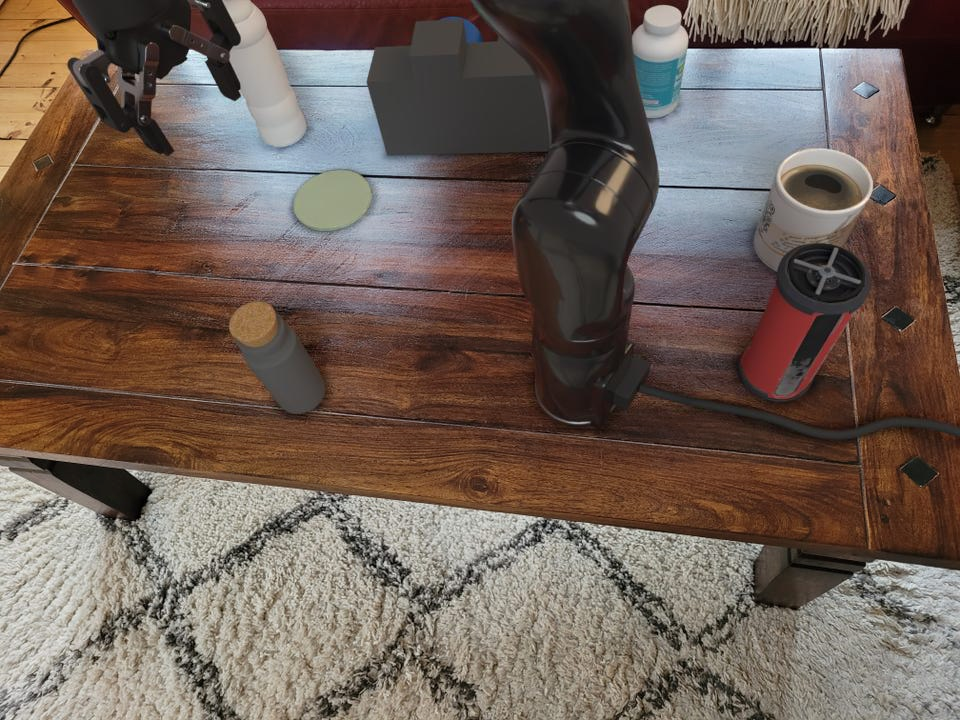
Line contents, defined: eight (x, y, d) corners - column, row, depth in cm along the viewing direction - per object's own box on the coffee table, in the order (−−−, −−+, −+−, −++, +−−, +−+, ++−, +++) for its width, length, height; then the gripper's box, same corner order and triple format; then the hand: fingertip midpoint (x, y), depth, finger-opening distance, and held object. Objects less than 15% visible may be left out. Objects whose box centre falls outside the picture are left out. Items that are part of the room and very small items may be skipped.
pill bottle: (681, 119, 97) (697, 30, 85) (627, 122, 97) (636, 35, 86) (674, 84, 101) (688, -5, 89) (622, 88, 101) (630, 1, 90)
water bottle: (317, 125, 104) (254, -41, 83) (287, 155, 101) (214, -9, 80) (283, 112, 107) (213, -53, 85) (253, 141, 104) (173, -22, 83)
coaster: (387, 189, 96) (386, 186, 95) (336, 242, 91) (335, 239, 91) (329, 163, 100) (328, 160, 99) (278, 212, 95) (277, 209, 95)
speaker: (750, 332, 78) (796, 225, 62) (820, 359, 75) (886, 253, 60) (726, 386, 75) (768, 286, 59) (798, 415, 72) (861, 319, 57)
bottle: (317, 417, 78) (268, 348, 65) (270, 411, 79) (213, 341, 66) (332, 373, 81) (289, 299, 68) (287, 367, 82) (236, 293, 69)
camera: (563, 76, 104) (562, -27, 91) (561, 151, 96) (560, 49, 82) (402, 83, 107) (379, -16, 94) (387, 155, 99) (359, 58, 86)
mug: (731, 248, 84) (753, 182, 75) (784, 191, 88) (810, 121, 78) (811, 291, 80) (844, 227, 70) (862, 229, 84) (900, 160, 74)
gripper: (48, 10, 46) (168, 185, 60) (201, -92, 52) (280, 91, 65) (-11, -16, 49) (117, 157, 63) (140, -111, 55) (228, 68, 68)
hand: (200, 123), depth 64 cm, fingers open, 8 cm apart
